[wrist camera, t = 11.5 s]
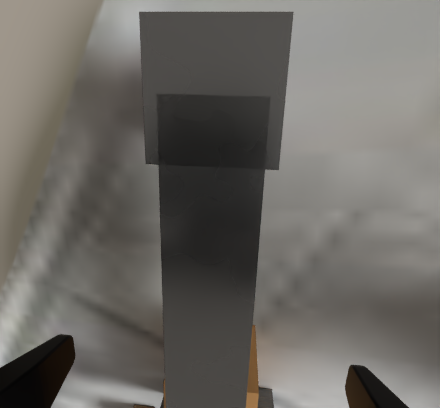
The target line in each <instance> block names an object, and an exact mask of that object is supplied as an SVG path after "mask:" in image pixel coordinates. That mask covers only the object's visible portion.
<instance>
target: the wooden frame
mask: <svg viewBox="0 0 440 408" xmlns="http://www.w3.org/2000/svg"><path fill="white" fill-rule="evenodd" d="M134 408H155V407H149V406H141V405H134Z"/></svg>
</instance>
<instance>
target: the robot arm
mask: <svg viewBox="0 0 440 408" xmlns="http://www.w3.org/2000/svg"><path fill="white" fill-rule="evenodd" d="M74 360H75V348H74V341H73V337H72V336H71V335H63V334H60V335H57V336H55V337H54V338H52V339H50V340H48V341H46V342H45V343H43V344H41V345H39V346H38V347H36V348H34V349H32V350H31V351H29V352H27V353H25V354H24V355H22V356H20V357H18V358H17V359H15V360H13V361H11V362H10V363H8V364H6V365H4V366H3V367H1V368H0V408H51V406H52V404H53V402H54V400H55V398H56V396H57V394H58V392H59V390H60V388H61V386H62V384H63V382H64V380H65V378H66V376H67V375H68V373H69V371H70V369H71V367H72V365H73V363H74ZM345 391H346V396H347V400H348V404H349V408H409V407H408V406H407V405H405V404H404V403H403V402H402V401H401V400H400V399H399V398H398V397H397V396H396V395H395V394H394V393H393V392H392V391H391V390H390V389H389V388H388V387H386V386H385V385H384V384H383V383H382V382H381V381H380V380H379V379H378V378H377V377H376V376H375V375H374V374H373V373H372V372H371V371H370V370H368V369H367V368H366V367H365V366H361V365H351V366H350V367H349V370H348V375H347V379H346V384H345Z"/></svg>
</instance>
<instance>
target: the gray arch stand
mask: <svg viewBox="0 0 440 408" xmlns="http://www.w3.org/2000/svg"><path fill="white" fill-rule="evenodd" d="M139 18H140V41H141V64H142V88H143V111H144V134H145V157H146V164H157V165H159V194H160V228H161V261H162V295H163V328H164V361H165V395H166V408H246V400H247V387H248V375H249V362H250V350H251V337H252V324H253V312H254V299H255V287H256V274H257V262H258V249H259V236H260V224H261V211H262V199H263V186H264V173H265V169H268V170H279V160H280V149H281V139H282V128H283V117H284V107H285V96H286V85H287V75H288V64H289V53H290V43H291V32H292V21H293V12H139ZM160 408H164V397H163V400H162V403H161V407H160ZM257 408H274V405H273V395H272V389H265V388H259V397H258V407H257Z"/></svg>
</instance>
